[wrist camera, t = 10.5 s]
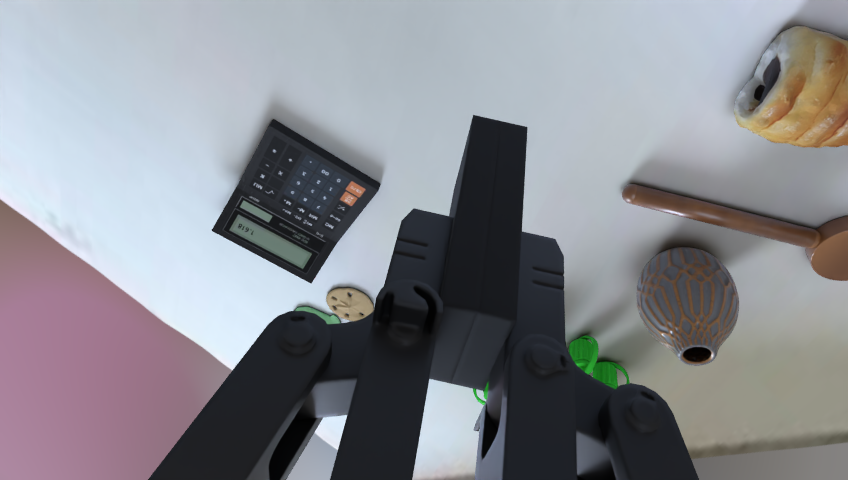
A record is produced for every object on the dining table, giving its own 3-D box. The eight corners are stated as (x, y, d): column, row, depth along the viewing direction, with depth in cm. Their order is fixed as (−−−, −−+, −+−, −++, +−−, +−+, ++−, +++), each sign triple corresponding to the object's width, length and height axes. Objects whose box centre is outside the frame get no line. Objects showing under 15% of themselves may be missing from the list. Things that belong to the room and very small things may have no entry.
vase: (711, 221, 43) (736, 312, 36) (738, 280, 46) (766, 373, 40) (619, 250, 46) (628, 338, 40) (651, 303, 49) (664, 392, 43)
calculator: (380, 183, 46) (371, 208, 44) (319, 261, 53) (309, 285, 51) (273, 119, 43) (258, 141, 41) (224, 210, 51) (210, 233, 49)
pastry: (946, 52, 32) (981, 86, 30) (862, 150, 37) (886, 187, 34) (781, 13, 32) (800, 44, 30) (718, 116, 37) (730, 150, 34)
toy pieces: (424, 357, 61) (417, 394, 57) (334, 368, 65) (323, 402, 62) (373, 280, 54) (361, 317, 51) (276, 298, 58) (259, 333, 55)
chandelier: (635, 405, 60) (642, 469, 55) (494, 409, 65) (488, 468, 60) (617, 310, 51) (623, 377, 46) (454, 324, 56) (444, 386, 51)
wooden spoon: (607, 211, 44) (608, 223, 43) (637, 156, 40) (639, 168, 39) (856, 274, 44) (863, 288, 43) (909, 225, 40) (918, 238, 39)
